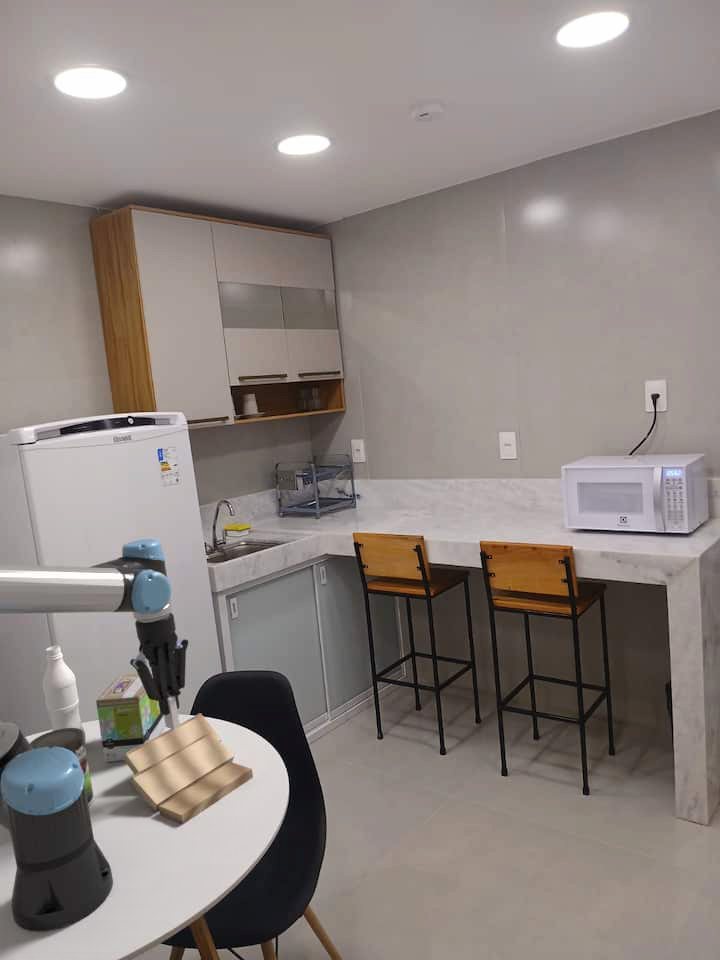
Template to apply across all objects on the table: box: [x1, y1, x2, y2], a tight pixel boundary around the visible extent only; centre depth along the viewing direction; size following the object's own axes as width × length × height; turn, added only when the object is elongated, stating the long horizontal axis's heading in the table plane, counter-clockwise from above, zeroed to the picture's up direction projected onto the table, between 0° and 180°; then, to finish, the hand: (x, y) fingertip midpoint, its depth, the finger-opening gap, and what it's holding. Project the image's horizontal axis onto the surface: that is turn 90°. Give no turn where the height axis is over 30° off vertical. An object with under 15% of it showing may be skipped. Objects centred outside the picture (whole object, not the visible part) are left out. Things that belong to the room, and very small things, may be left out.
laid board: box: [158, 761, 254, 825], centre depth 145 cm, size 18×7×2 cm, turn 142°
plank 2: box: [130, 732, 235, 812], centre depth 151 cm, size 20×8×2 cm, turn 142°
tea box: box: [95, 671, 167, 763], centre depth 170 cm, size 15×10×15 cm
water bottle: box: [41, 645, 87, 744], centre depth 171 cm, size 7×7×25 cm
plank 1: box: [123, 712, 222, 775], centre depth 159 cm, size 20×8×2 cm
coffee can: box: [29, 728, 95, 807], centre depth 147 cm, size 10×10×14 cm
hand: (173, 726), depth 151 cm, fingers closed
